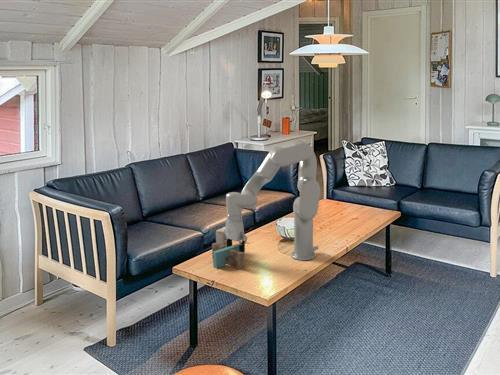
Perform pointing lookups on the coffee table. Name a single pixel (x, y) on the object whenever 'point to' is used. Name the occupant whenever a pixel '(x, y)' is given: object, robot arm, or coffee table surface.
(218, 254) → the teal plate
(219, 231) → the supplement box
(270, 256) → the coffee table surface
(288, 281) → the coffee table surface
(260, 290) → the coffee table surface
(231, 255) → the brown flat notched block
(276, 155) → the robot arm
